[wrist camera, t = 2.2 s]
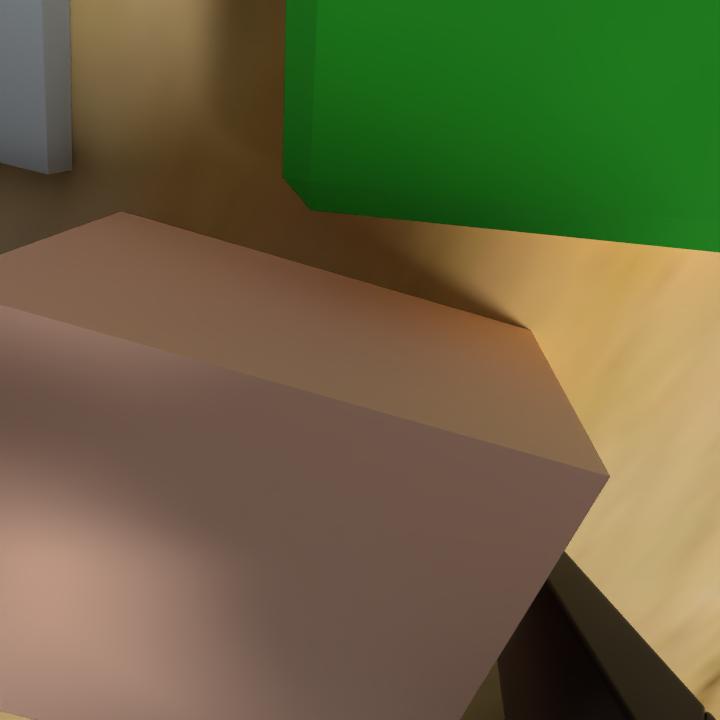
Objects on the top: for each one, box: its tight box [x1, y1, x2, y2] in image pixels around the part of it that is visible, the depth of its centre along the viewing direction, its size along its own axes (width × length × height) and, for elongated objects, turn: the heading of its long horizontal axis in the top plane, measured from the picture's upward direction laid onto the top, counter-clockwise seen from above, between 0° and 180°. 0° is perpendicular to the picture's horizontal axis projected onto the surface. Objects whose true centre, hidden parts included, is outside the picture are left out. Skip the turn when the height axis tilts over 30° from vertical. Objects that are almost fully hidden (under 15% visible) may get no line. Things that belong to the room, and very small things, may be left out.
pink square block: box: [0, 211, 610, 720], centre depth 8 cm, size 7×7×4 cm
